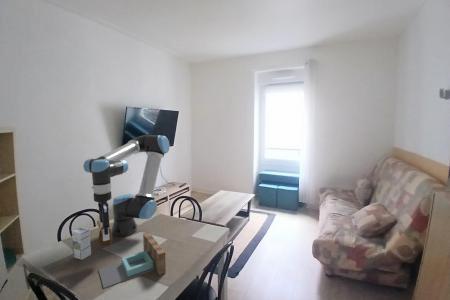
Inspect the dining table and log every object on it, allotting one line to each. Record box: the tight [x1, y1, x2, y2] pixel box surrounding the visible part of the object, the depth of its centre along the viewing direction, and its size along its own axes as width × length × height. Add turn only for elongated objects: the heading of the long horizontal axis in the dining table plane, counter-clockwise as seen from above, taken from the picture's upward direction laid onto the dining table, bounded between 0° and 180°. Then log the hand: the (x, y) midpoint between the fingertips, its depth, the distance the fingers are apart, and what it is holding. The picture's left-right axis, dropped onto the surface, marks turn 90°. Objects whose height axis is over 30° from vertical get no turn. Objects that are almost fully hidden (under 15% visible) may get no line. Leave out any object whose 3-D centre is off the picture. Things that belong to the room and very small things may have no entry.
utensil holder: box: [96, 219, 113, 247], centre depth 112 cm, size 6×6×12 cm
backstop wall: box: [142, 231, 167, 276], centre depth 114 cm, size 24×3×10 cm, turn 36°
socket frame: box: [121, 250, 154, 277], centre depth 109 cm, size 12×12×3 cm
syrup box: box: [71, 226, 92, 261], centre depth 117 cm, size 6×6×14 cm
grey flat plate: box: [98, 259, 156, 289], centre depth 107 cm, size 14×22×1 cm, turn 126°
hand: (105, 237), depth 112 cm, fingers closed on utensil holder, 6 cm apart
